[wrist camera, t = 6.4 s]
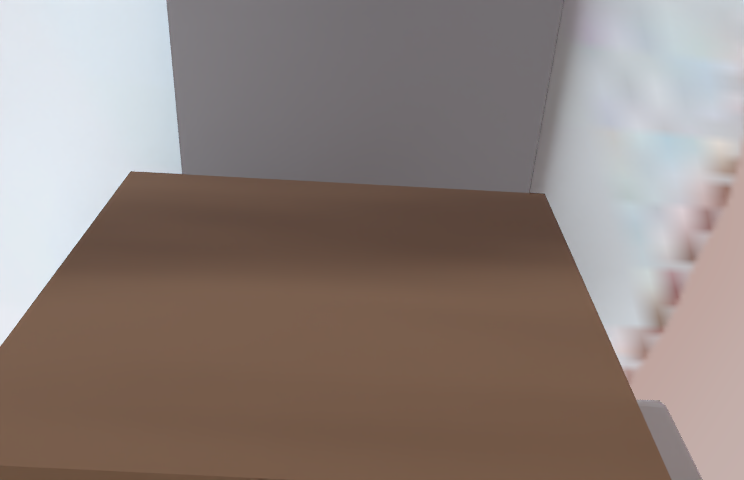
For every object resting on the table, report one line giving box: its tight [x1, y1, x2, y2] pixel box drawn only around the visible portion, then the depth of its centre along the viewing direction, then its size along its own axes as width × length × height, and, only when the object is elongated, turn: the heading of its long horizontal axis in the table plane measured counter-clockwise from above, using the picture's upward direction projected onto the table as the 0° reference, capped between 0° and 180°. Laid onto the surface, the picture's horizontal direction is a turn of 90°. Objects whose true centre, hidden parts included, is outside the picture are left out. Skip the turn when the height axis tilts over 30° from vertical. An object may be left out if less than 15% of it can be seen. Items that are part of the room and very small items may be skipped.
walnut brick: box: [0, 171, 671, 480], centre depth 9 cm, size 6×6×5 cm
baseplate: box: [167, 0, 564, 193], centre depth 23 cm, size 12×12×1 cm
